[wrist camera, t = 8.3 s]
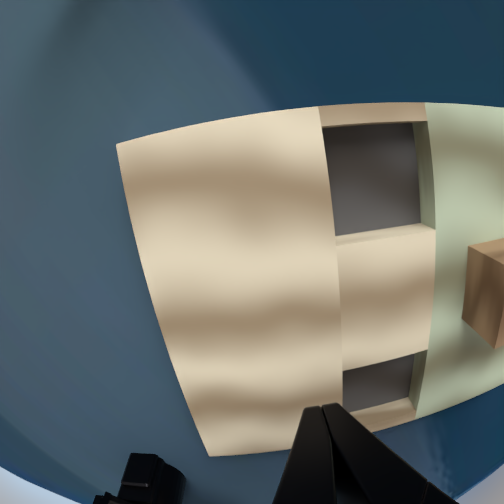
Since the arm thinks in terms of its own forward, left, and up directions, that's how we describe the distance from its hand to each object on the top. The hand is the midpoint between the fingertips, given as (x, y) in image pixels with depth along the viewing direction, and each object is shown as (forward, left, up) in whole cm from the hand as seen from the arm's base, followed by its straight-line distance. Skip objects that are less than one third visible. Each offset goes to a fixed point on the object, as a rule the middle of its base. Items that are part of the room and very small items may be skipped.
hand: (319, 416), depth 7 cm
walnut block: (-3, -14, -10) cm, 17 cm away
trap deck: (-3, -6, -12) cm, 14 cm away
